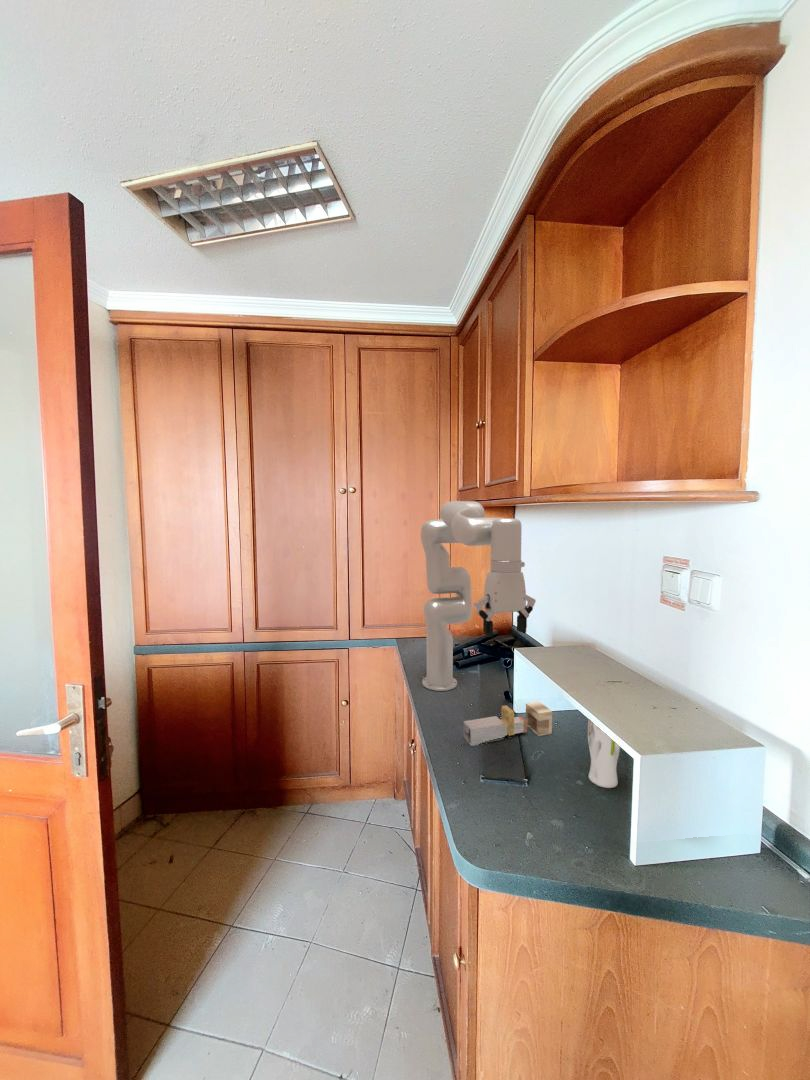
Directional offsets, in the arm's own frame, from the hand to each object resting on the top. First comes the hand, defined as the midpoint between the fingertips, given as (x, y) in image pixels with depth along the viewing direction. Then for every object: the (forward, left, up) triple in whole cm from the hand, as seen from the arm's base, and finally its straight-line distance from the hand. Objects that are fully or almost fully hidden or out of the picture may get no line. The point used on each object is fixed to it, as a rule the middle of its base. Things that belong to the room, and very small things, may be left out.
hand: (505, 633), depth 105 cm
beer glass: (+17, +16, -31) cm, 39 cm away
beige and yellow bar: (-7, +2, -31) cm, 32 cm away
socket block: (-7, +15, -31) cm, 35 cm away
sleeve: (-7, -2, -31) cm, 32 cm away
